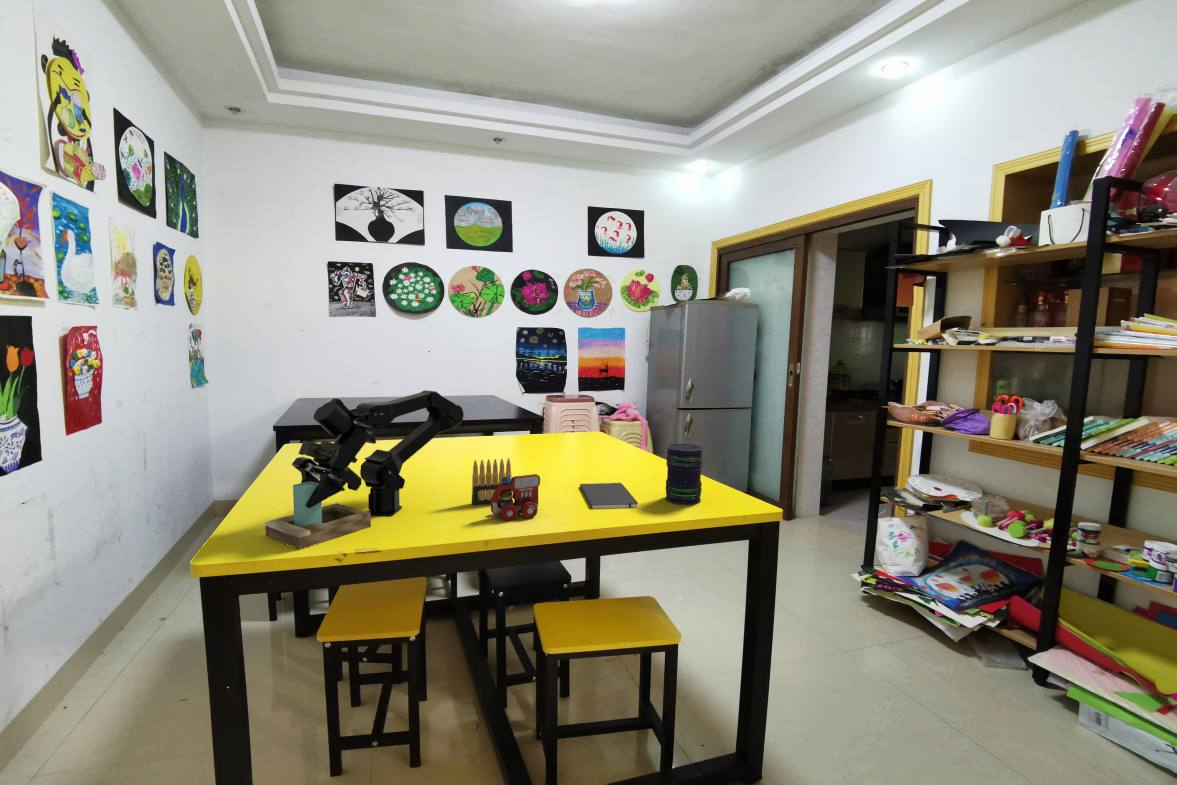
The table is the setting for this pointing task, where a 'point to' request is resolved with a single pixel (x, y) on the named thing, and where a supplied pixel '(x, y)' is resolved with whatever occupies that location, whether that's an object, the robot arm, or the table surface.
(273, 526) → the keyhole plate
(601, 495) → the notebook
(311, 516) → the peg
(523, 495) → the toy fire truck
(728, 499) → the table surface
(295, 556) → the table surface
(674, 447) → the storage jar
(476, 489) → the ammunition clip
